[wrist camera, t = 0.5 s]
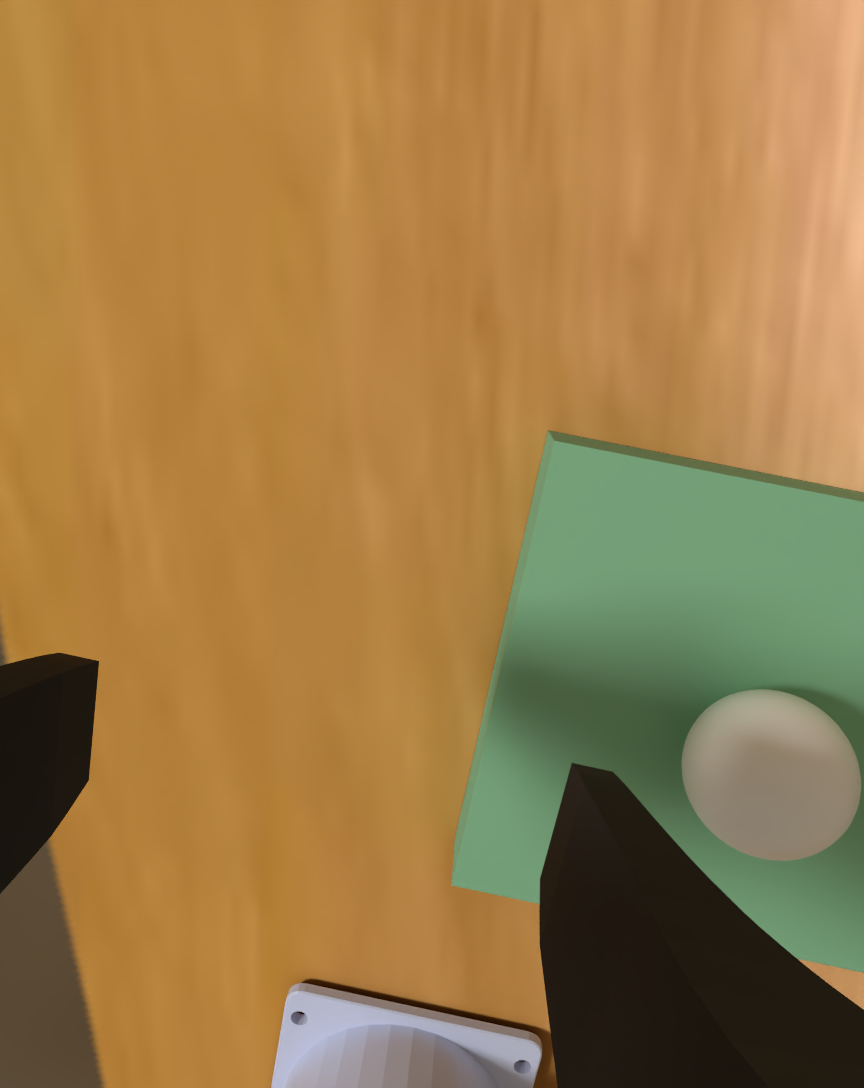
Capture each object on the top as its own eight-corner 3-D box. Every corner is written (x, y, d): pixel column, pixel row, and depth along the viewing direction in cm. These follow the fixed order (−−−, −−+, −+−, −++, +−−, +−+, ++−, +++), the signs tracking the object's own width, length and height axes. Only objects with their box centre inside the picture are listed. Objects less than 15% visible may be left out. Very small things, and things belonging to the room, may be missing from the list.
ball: (791, 810, 19) (859, 915, 16) (649, 780, 19) (683, 879, 16) (840, 680, 18) (921, 761, 15) (688, 649, 18) (735, 722, 15)
